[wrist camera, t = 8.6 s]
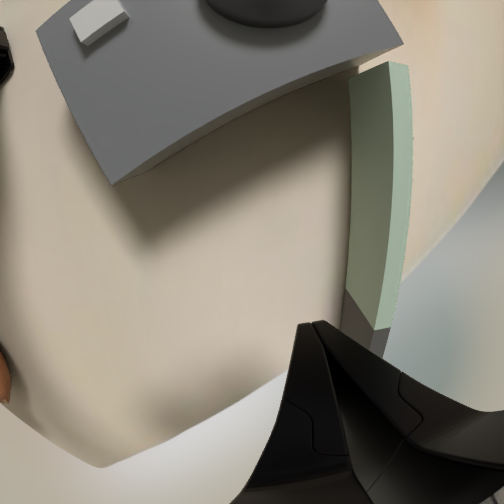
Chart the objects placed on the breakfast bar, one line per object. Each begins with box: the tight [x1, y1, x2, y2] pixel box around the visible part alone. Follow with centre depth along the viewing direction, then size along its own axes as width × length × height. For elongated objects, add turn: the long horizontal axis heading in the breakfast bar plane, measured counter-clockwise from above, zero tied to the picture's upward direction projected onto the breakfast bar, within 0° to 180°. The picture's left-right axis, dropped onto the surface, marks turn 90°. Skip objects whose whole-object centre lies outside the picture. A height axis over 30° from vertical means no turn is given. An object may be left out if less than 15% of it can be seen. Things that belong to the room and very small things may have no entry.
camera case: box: [36, 0, 404, 186], centre depth 11 cm, size 16×11×7 cm
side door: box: [340, 61, 413, 358], centre depth 17 cm, size 20×1×6 cm, turn 3°
